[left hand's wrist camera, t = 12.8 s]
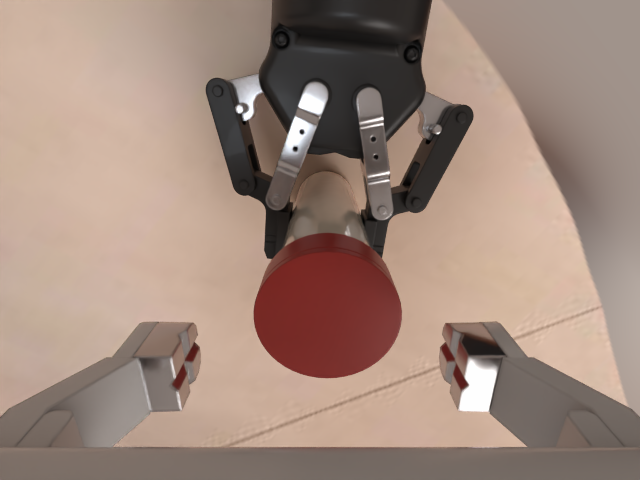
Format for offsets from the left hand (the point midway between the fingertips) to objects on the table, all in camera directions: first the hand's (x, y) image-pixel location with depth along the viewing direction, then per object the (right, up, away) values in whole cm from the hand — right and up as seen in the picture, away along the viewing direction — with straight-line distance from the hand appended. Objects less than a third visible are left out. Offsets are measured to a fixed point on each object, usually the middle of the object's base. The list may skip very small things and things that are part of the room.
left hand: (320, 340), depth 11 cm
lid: (0, 0, +2) cm, 2 cm away
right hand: (0, +1, +12) cm, 12 cm away
